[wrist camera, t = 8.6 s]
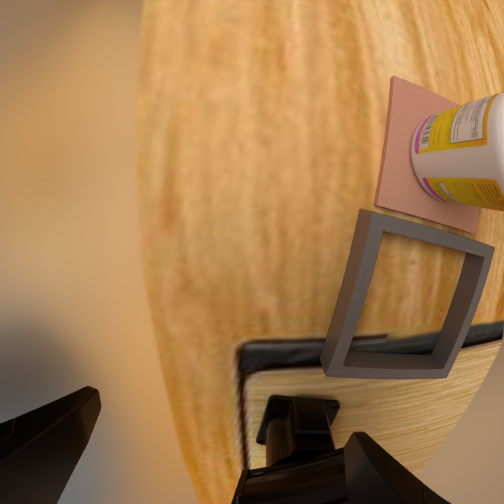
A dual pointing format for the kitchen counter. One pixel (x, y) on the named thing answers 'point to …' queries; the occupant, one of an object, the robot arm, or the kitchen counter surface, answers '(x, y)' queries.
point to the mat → (400, 160)
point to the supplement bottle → (463, 154)
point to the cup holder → (355, 291)
